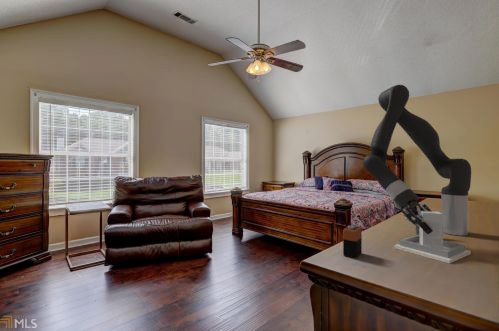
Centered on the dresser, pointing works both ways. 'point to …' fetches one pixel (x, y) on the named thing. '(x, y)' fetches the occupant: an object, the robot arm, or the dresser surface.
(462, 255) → the grey rimmed tray
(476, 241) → the dresser surface
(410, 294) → the dresser surface
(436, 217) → the skincare box
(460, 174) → the robot arm
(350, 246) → the battery
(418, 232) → the mechanical component
